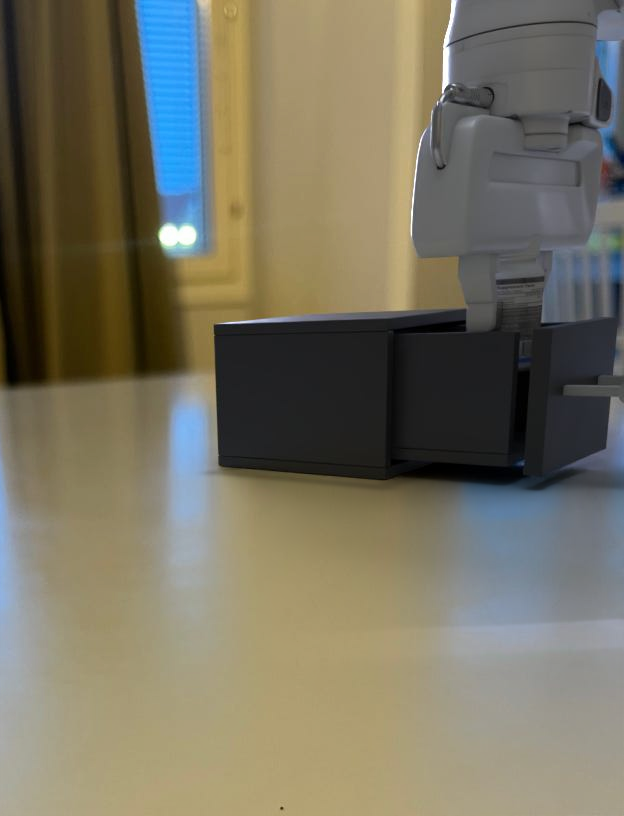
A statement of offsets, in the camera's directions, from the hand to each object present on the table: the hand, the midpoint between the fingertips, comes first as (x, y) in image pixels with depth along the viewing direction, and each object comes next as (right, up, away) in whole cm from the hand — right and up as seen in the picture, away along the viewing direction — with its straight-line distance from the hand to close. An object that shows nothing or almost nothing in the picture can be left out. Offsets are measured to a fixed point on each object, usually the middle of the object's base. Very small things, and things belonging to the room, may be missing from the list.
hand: (503, 328), depth 66 cm
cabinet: (-9, -7, +11) cm, 15 cm away
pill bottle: (0, -3, +1) cm, 3 cm away
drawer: (+1, -8, +2) cm, 9 cm away
